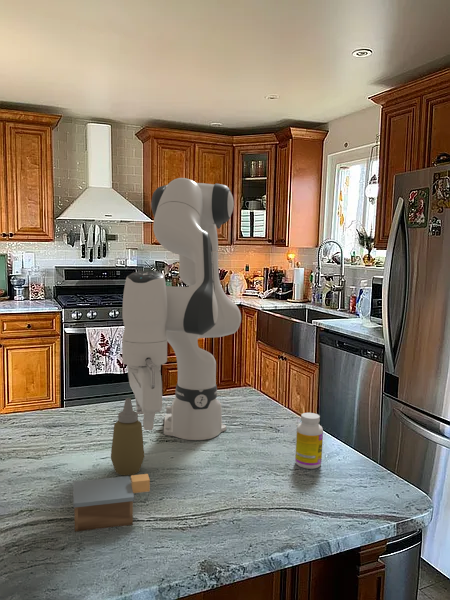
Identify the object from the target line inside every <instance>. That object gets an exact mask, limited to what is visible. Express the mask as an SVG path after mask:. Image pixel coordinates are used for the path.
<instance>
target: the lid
mask: <svg viewBox="0 0 450 600" xmlns="http://www.w3.org/2000/svg"><path fill="white" fill-rule="evenodd" d="M150 481H151V478H150V477H149V474H148V473H144V474H143V473H142V474H133V475H124V476H117V477H106V478H96V479H87V480H86V479H84V480H77V481H76V480H75V481H72V483H73V485H72V491H73V493H72V495H73V498H72V499H73V501H72V502H73V503H72V504H73V509H74V508H75V507H84V506H93V505H102V504H111V503H120V502H129V501H133V502H134V501H135V495H134V494H138V493H146V492H147V493H149V492H151V491H150V489H151V482H150Z"/></svg>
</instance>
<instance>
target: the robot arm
mask: <svg viewBox="0 0 450 600" xmlns="http://www.w3.org/2000/svg"><path fill="white" fill-rule="evenodd" d="M234 201H235V200H234V197H233V194H232V191H231V189H230V188H229V187H228V185H225V184H222V183H221V184H220V183H215V184H214V183H213V184H212V183H204V182H195V181H194V180H193V179H189V178H186V177H178V178H175V179H173V180H171V181H170V182H169V183H168V184H164V185H162V186H158V187H157V188H156V189H155V190H154V191H153V193H152V196H151V204H150V206H151V211H152V215H153V218H154V219H153V225H152V226H153V228H152V229H153V234H154V237H155V239H156V241H157V242H158V243H159V244H160V245H161V246H162V247H163V248H164V249H165V250H167V251H168V252H170V253H172V254H175V255H178V259H179V264H178V265H179V266H178V267H179V268H178V272H179V273H178V275H179V278H180V280H181V281H182V283H184V284H185V285H186V286H174V285H173V286H172V285H170V286H169V285H166V284H167V283H166V278H165V274H163V273H162V272H159V271H155V270H140V271H136V272H135V271H134V272H132V273H130V274H128V275H127V276H126V278H125V283H124V288H123V295H122V297H123V298H122V309H121V310H122V321H123V324H124V325H123V327H124V329H123V334H122V337H121V339H122V340H121V341H122V343H121V344H122V345H121V349H122V350H121V351H122V352H121V353H122V355H121V358H122V361H121V363H123V364H124V365H127V378H128V383H129V387H130V388H131V390H132V392H133V395H134V399H135V405H136V406H135V412H137V413H138V416H139V415H143V419H142V428H143V429H144V430H145V431H151V430H153V429H154V421H155V420H154V419H155V416H156V413H160V412H161V411H162V409H163V381H162V375H161V374H162V373H161V367H162V365H164V364H166V363H167V362H168V344H169V345H170V346H171V348H172V350H173V352H174V355H175V357H176V365H177V366H176V367H177V368H176V369H177V383H176V385H175V390H174V391H175V394H174V395H175V397H174V398H173V400H172V401H171V405H167V406H166V409H165V410H166V411H165V412H166V414H165V415H164V422H163V435H166V436H170V437H171V436H172V437H176V438H179V439H183V440H188V441H203V440H209V439H213V438H215V437H217V436H219V435H220V434H221V433H222V432H225V431H227V425H226V424H224V423H223V420H222V415H223V414H222V403H221V402H220V400H218V399H217V397H218V385H217V384H216V382H217V381H216V380H217V379H216V378H217V377H216V376H217V361H216V359H215V357H214V355H213V354H212V353H211V352H209V351H207V350H205V349H203V348H201V347H200V346H199V343H198V341H199V339H204V338H205V339H206V338H209V339H210V338H221V337H222V338H223V337H225V336H229V335H233V334H235V333H236V332H237V331H238V330H239V328H240V326H241V323H242V313H241V310H240V308H239V307H238V305H237V304H236V303H235V302H234V301H232V299H230V298H229V297H228V296H227V294H226V293H225V291H224V289H223V286H222V284H221V280H220V274H219V273H220V271H219V237H218V230H219V229H221V227H222V225H225V224H226V223H227V222H228V221H229V220H230V219H231V217H232V214H233V211H234V207H235V202H234Z"/></svg>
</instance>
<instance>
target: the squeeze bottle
mask: <svg viewBox="0 0 450 600" xmlns="http://www.w3.org/2000/svg"><path fill="white" fill-rule="evenodd" d="M117 416H118V417H117V421H116V422H115V423H114V424H113V432H112V443H111V451H110V460H111V463H112V466H113V469H114V472H115V473H116V474H117V475H120V476H131V475H137V473H139V472H140V470H141V467H142V466H143V463H144V459H145V448H144V447H145V446H144V435H143V434H144V433H143V423H142V422H141V421H139V414H138V413H137V412H136V410H134V408H133V403H132V398H130V397H126V398H125V400H124V405H123V408H122V410H121V411H120V412H118V415H117Z"/></svg>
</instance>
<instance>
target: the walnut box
mask: <svg viewBox="0 0 450 600" xmlns="http://www.w3.org/2000/svg"><path fill="white" fill-rule="evenodd" d="M73 509H74V511H73V512H74V515H73V516H74V518H73V519H74V532H75V533H77V532H83V531H84V532H85V531H92V530H101V529H107V528H108V529H110V528H117V527H124V526H125V527H126V526H132V525H134V524H133V522H134V501H129V502H120V503H111V504H102V505H93V506H84V507H75V508H74V507H73Z"/></svg>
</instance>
